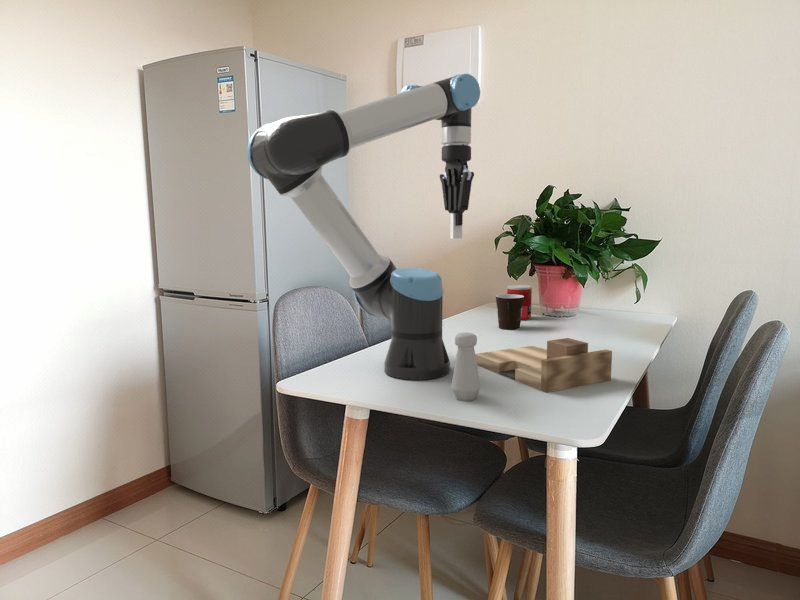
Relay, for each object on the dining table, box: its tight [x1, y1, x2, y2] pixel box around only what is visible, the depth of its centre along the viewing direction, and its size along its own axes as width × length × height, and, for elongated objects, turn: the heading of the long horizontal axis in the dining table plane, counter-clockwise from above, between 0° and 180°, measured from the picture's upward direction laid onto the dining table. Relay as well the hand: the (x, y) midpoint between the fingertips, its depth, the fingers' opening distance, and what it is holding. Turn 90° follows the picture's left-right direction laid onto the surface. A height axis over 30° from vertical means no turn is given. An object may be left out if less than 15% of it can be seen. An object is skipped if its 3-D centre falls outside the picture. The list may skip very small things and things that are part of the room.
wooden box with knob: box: [475, 345, 613, 393], centre depth 138 cm, size 18×26×6 cm
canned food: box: [506, 284, 533, 321], centre depth 204 cm, size 8×8×11 cm
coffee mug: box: [495, 293, 524, 331], centre depth 188 cm, size 12×9×10 cm
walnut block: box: [546, 337, 589, 359], centre depth 131 cm, size 6×6×6 cm
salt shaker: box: [450, 332, 482, 402], centre depth 120 cm, size 6×6×13 cm
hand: (456, 238), depth 158 cm, fingers closed
